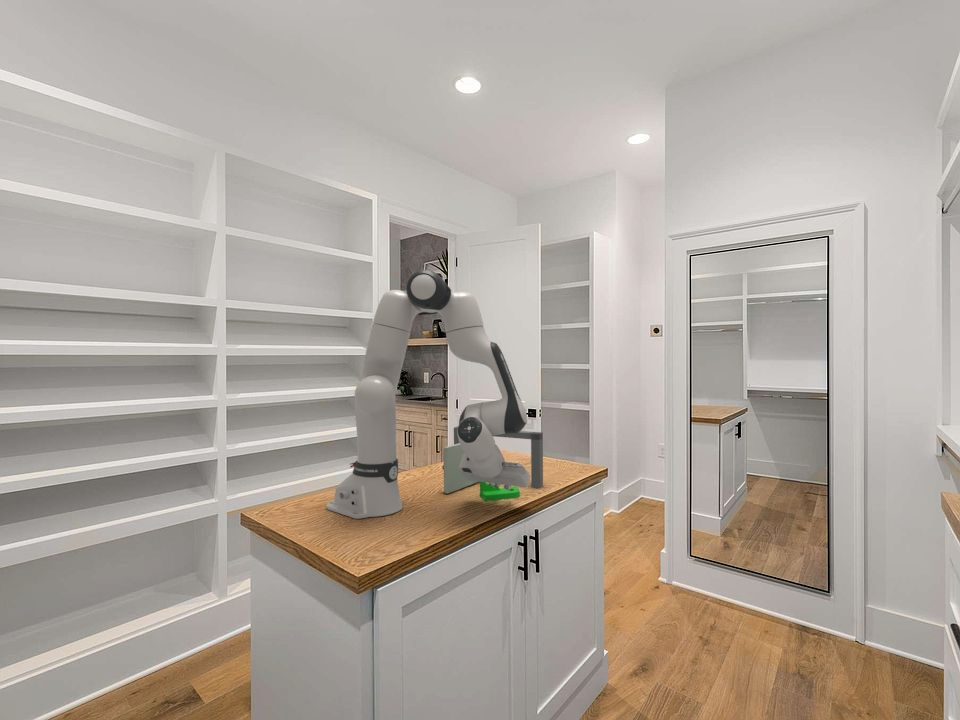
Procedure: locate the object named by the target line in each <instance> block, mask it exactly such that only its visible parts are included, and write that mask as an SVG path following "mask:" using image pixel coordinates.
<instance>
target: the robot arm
mask: <svg viewBox="0 0 960 720" xmlns="http://www.w3.org/2000/svg"><path fill="white" fill-rule="evenodd" d="M405 287H406V289H405V290H399V289H391V290H387V291H386V292H384V294H383V295H382V297H381V299H380V301H379V303H378V306H377V308H376V311H375V314H374V318H373V321H372V325H371V328H370V329H371V330H370V333H369V338H368V341H367V346H366V351H365V356H364V361H363V367H362V371H361V376H360V381H359V383H358V384H357V386H356V387H355V390H354V410H355V411H354V412H355V427H356V447H357V448H356V450H357V453H356V454H357V455H356V456H357V460H356V461H354V462H351V463H349V465H350V466H349V468H353V470H352V473H351V474H350V475H348V477H346V478H345V479H344V480H342V482H340V483H338V485H337V486H336V488H335V491H334V499H332V500H330V501H329V502H328V503H327V504H326V506H325V509H326V510H329V511H331V512H334V513H337V514H340V515H343V516H347V517H349V518H352V519H355V520H358V519H365V518H375V517H383V516H387V515H388V516H389V515H392V514H396V513H398V512H400V511H401V510H402V509H403V507H404V506H403V502H402V499H401V495H400V489H399V482H398V476H399V475H398V474H399V460H398V458H397V420H396V419H397V418H396V417H397V415H396V414H397V413H396V412H397V411H396V410H397V409H396V407H397V406H396V403H397V402H396V395H397V390H398V386H399V381H400V377H401V373H402V370H403V369H402V368H403V366H404V365H403V364H404V361H405V358H406V353H407V348H408V344H409V341H410V336H411V331H412V327H413V323H414V320H415V318H416V316H423V315H435V314H439V316H441V318H442V321H443V324H444V331H445V336H446V341H447V345H448V348H449V351H450V352H451V353H452V354H453V355H454V356H455V357H457V358H458V359H460V360H463V361H466V362H471V363H476V364H480V365H484V366H486V367H488V368H489V369H490V370H491V372H492V373H493V375H494V378H495V381H496V384H497V387H498V389H499V391H500V394H501V395H500V396H501V399H497V400H490V401H482V402H477V403H471V404H468V405H467V406H465V407H464V409H463V410H462V411H461V414H460V416H459V419H458V429H457V435H458V439H459V442H460V445H461V447H462V449H463V451H464V454H463V457H462V459H461V462H460V465H459V469H460V470H461V472H462V474H463V476H464V477H465V478H466V479H468V480H473V481H480V482H486V484H490V485H492V486H493V487H494V488H498V489H499V488H500V486H501V485H503V488H505V490H510V489H511V487H518V488H519V487H520V488H527V487H528V486H529V483H530V481H531V474H530V473H529V471H528V470H527V468H526V467H525V466H524V465H522V463H518V462H509V461H506V460H505V457H504V455H503V454H502V451H501V450H500V448H499V446H498V445H497V443H496V441H495V438H494V436H493V435H499V434H517V433H519V432H520V431H523V429H524V428H525V426H526V425H527V423H528V417H527V412H526V411H527V410H526V408H525V406H524V404H523V402H522V400H521V397H520V395H519V394H518V390H517V387H516V385H515V382H514V380H513V377H512V374H511V371H510V369H509V366H508V364H507V361H506V358H505V356H504V354H503V352H502V350H501V348H500V346H499V345H498V344H497V342H493V341H491V340H490V339H489V337H488V335H487V333H486V331H485V328H484V322H483V321H484V320H483V318H482V313H481V311H480V308H479V305H478V303H477V300H476V297H475V296H474V295H473V294H472V293H470V292H468V291H454V292H453V291H452V289H451V287H449V285H448V284H447V283H446V281H445V280H444V279H443V278H442V277H441V276H440V275H439V274H438V273H436V272H434V271H433V270H429V269H428V270H427V269H422V270H418V271H416V272H413V274H411V275H410V277H409V278H408V280H407V283H406V286H405ZM480 482H479V483H480Z"/></svg>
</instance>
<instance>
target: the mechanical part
mask: <svg viewBox="0 0 960 720" xmlns="http://www.w3.org/2000/svg"><path fill="white" fill-rule="evenodd" d="M520 492H521V490H520V489H519V487H518V486H511V489H510V490H505V488H504V487H499V489H498V488H494V487H493V486H492V485H490V484H489V483H487V482H479V496H480V497H481V498H482V499H483V501H484V502H492V501H501V500H502V499H504V500H511V499H510V498H514V499H518V498H520V496H521V495H520V494H521V493H520ZM517 497H518V498H517ZM502 501H503V500H502Z"/></svg>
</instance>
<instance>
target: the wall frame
mask: <svg viewBox="0 0 960 720" xmlns="http://www.w3.org/2000/svg"><path fill="white" fill-rule="evenodd" d="M458 426H459V425H458ZM458 426H454V427H453V445H454V444H458V443H460V442H459V439H458V435H457V429H458ZM493 437H498V438H507V439H509V438H510V439H521V440H522V439H523V440H530V449H531V450H530V457H531V458H530V463H531V465H530V466H531V467H530V469H531V471H530V473H531V474H530V481H531V482H530V483H531V488H532V487H533V489H539V488H540V489H542V488H543V487H544V446H543V445H544V439H543V438H544V436H543V432H541V431H529V430H527V431H526V430H521V431H520V432H519V433H517V434H499V435H493ZM542 486H543V487H542Z"/></svg>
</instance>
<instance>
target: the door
mask: <svg viewBox="0 0 960 720" xmlns="http://www.w3.org/2000/svg"><path fill="white" fill-rule="evenodd" d="M442 449H443V452H442V454H443V460H442V461H443V465H442V470H443V494H447V495H448V494H450V493H452V492H453V493H454V492H456V491H458V490H461V489H463V488H466V487H469V486H471V485H473V484H477V483H480V481H473V480H468V479H466V478H465V477H464V476H463V474H462V472H461V470H460V469H459V465H460V462H461V459H462V457H463V454H464V451H463V449H462V447H461V445H460V443H458V444H454V443H453V444H451V445H448V446H447V445H446V446H443V448H442Z"/></svg>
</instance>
